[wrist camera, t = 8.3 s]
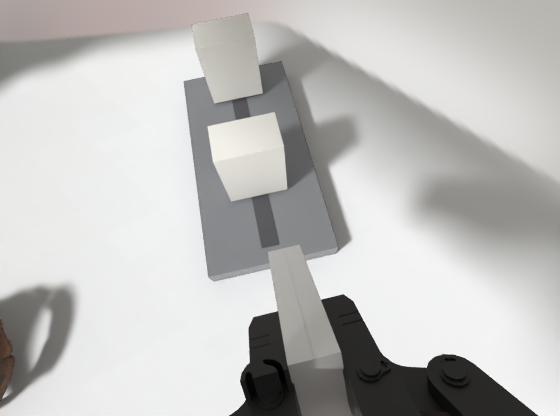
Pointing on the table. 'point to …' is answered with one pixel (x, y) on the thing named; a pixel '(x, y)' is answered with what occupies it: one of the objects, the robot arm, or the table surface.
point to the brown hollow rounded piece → (5, 361)
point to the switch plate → (264, 208)
